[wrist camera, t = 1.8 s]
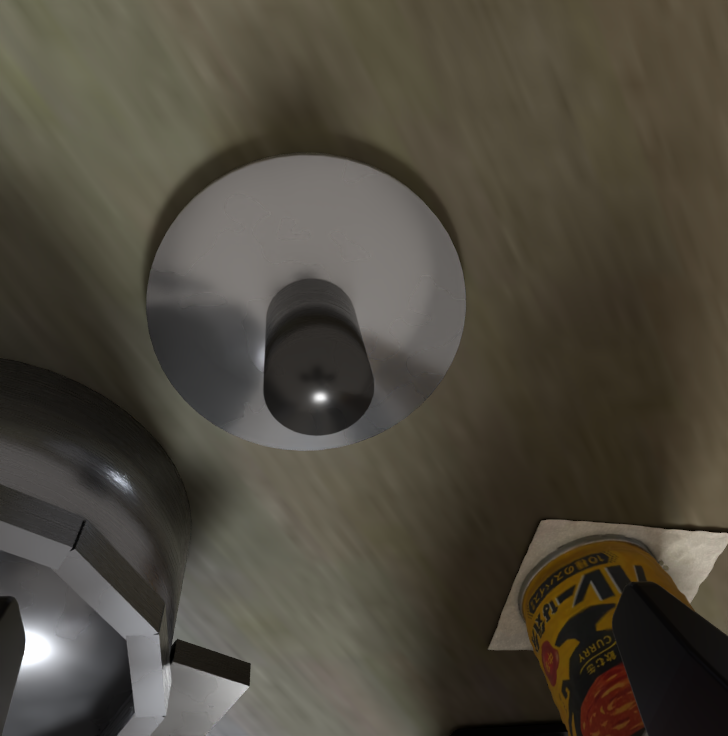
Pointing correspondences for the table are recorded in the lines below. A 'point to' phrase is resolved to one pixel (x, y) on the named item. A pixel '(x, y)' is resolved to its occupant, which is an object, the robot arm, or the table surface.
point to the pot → (98, 570)
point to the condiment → (594, 610)
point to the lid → (306, 301)
